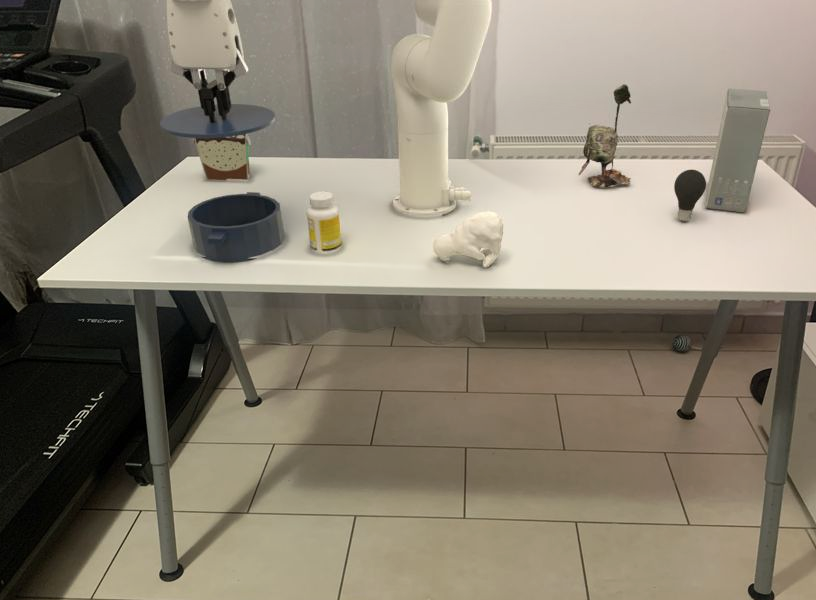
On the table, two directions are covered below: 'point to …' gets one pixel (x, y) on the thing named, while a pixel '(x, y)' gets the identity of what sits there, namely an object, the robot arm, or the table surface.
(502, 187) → the table surface
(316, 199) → the supplement bottle
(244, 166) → the food container
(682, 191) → the light bulb
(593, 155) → the bird figurine
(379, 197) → the table surface
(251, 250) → the pot
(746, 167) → the hard drive box
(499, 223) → the white lumpy rounded piece
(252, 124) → the lid
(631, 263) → the table surface
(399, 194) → the robot arm
